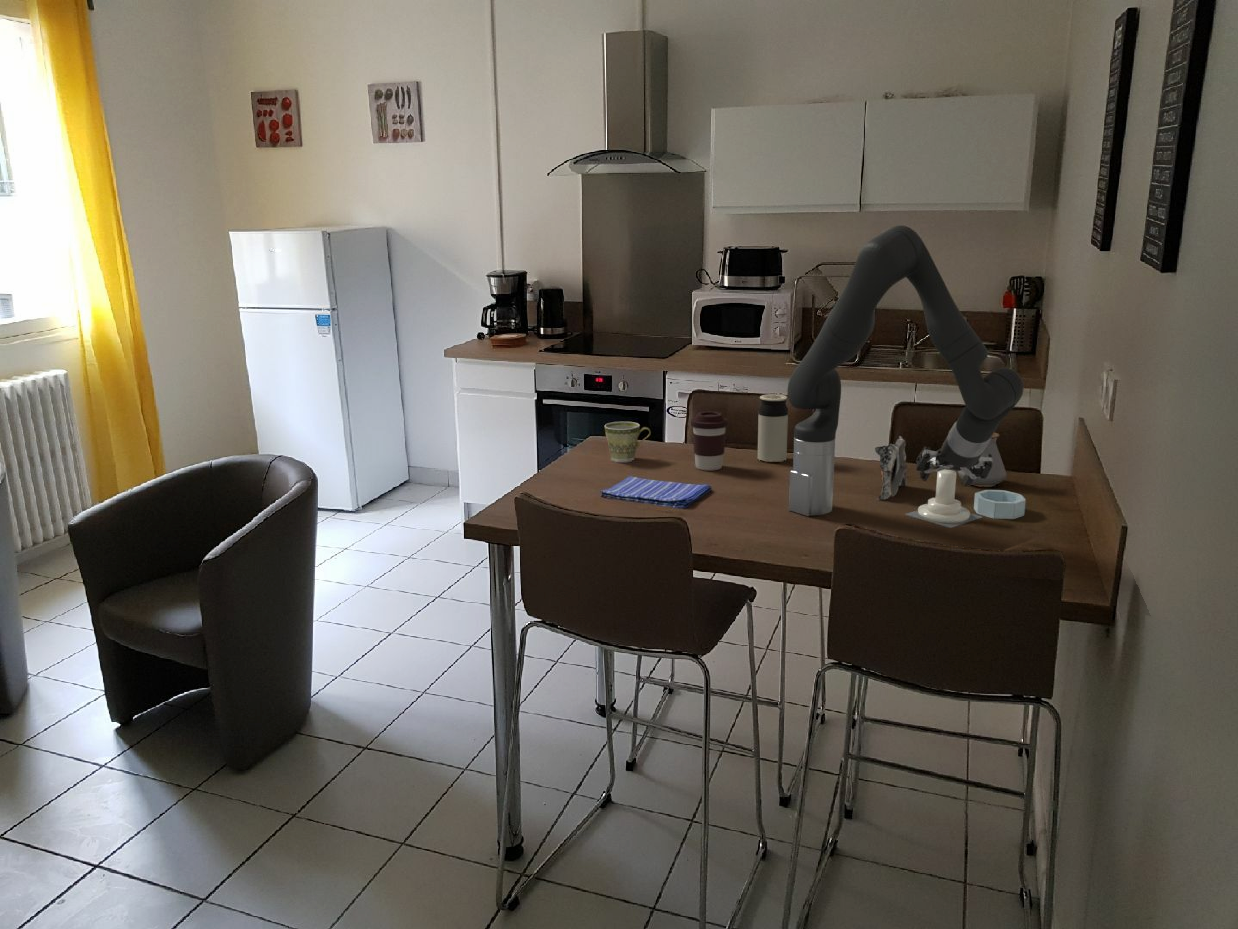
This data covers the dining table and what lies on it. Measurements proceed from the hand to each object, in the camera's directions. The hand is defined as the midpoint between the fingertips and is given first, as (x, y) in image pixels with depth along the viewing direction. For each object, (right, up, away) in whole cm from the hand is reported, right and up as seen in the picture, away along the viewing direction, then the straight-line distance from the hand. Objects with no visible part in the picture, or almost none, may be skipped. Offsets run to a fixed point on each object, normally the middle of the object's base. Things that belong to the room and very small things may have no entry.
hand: (944, 480), depth 196 cm
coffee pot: (+20, -3, +31) cm, 37 cm away
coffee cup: (-45, +2, +54) cm, 71 cm away
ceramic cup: (-67, +5, +64) cm, 93 cm away
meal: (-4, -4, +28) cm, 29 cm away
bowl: (+17, -8, +12) cm, 22 cm away
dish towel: (-60, -5, +32) cm, 68 cm away
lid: (+3, -8, +10) cm, 14 cm away
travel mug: (-27, +4, +61) cm, 67 cm away
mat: (+4, -9, +10) cm, 14 cm away
